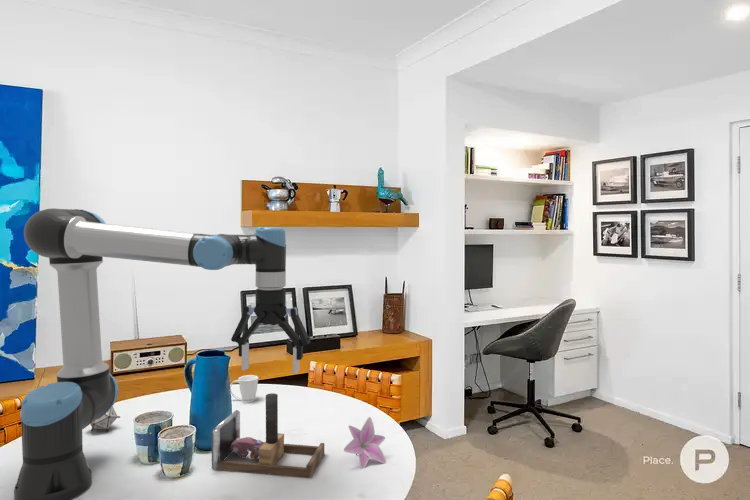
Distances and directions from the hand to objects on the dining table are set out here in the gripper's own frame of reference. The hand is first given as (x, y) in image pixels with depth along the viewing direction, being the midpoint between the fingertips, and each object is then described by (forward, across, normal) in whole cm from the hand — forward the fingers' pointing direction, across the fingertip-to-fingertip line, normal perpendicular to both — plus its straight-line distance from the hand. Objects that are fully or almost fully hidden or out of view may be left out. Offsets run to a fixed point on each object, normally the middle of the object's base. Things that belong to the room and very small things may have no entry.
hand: (270, 370), depth 131 cm
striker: (+24, 0, 0) cm, 24 cm away
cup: (+24, +26, -42) cm, 55 cm away
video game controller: (+24, +6, -2) cm, 25 cm away
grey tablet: (+24, +13, 0) cm, 27 cm away
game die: (+24, +57, -11) cm, 63 cm away
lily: (+24, -24, -5) cm, 34 cm away
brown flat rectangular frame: (+24, 0, 0) cm, 24 cm away
